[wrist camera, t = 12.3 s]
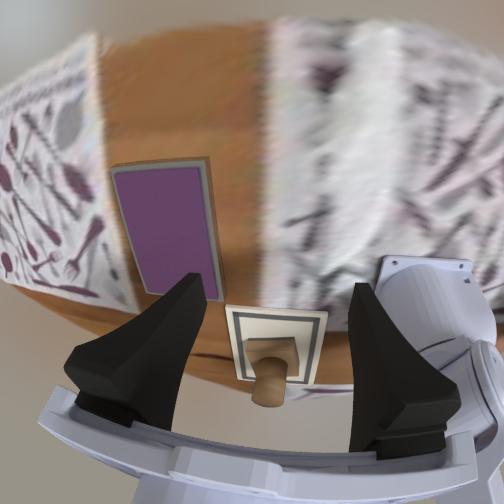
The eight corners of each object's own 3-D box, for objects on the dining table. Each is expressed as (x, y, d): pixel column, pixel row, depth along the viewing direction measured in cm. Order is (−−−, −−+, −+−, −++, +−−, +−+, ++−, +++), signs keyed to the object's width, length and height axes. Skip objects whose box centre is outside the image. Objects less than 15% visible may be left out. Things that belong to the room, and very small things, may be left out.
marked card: (328, 311, 27) (328, 315, 26) (312, 383, 35) (312, 386, 34) (226, 304, 28) (224, 307, 28) (238, 376, 36) (237, 379, 36)
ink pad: (209, 156, 20) (203, 161, 19) (226, 294, 28) (223, 304, 27) (116, 164, 22) (107, 169, 21) (150, 286, 29) (145, 295, 28)
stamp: (294, 336, 29) (289, 389, 24) (299, 362, 32) (295, 411, 26) (248, 338, 30) (236, 388, 25) (258, 363, 33) (249, 409, 28)
